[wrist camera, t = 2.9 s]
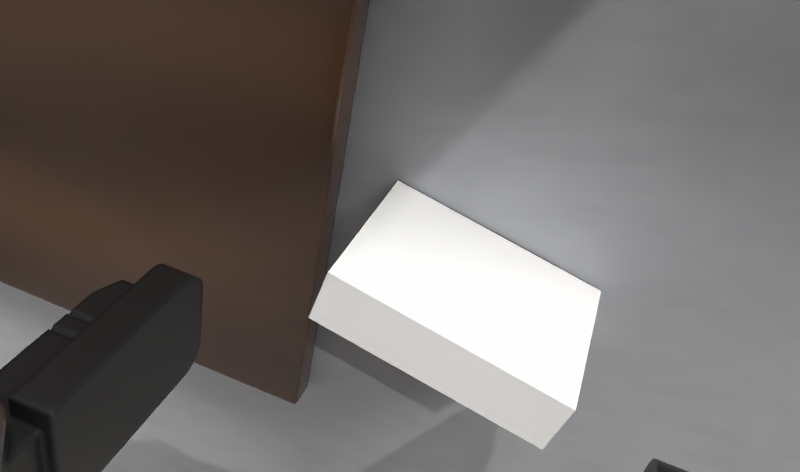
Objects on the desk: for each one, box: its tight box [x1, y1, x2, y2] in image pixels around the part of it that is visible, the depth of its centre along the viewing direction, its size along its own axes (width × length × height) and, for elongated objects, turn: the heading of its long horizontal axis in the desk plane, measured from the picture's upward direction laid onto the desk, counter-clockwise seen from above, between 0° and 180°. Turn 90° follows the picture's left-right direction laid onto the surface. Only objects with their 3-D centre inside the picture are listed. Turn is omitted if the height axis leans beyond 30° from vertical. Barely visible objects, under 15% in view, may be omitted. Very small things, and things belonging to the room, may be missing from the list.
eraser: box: [309, 181, 601, 450], centre depth 15 cm, size 1×5×4 cm, turn 68°
